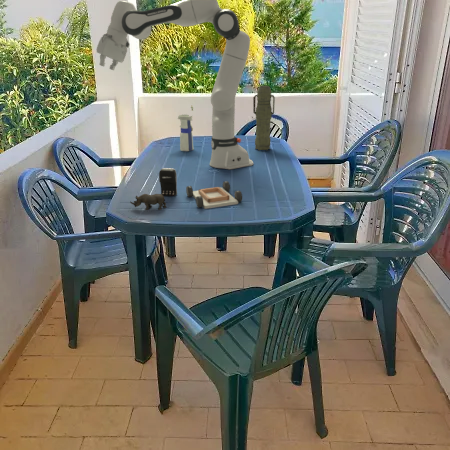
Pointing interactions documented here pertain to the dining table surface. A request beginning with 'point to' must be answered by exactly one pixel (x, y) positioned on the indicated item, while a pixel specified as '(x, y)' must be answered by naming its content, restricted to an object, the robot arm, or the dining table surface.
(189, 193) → the chassis
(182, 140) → the water bottle
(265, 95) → the thermos
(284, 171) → the dining table surface
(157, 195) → the rhino figurine
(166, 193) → the battery charger
